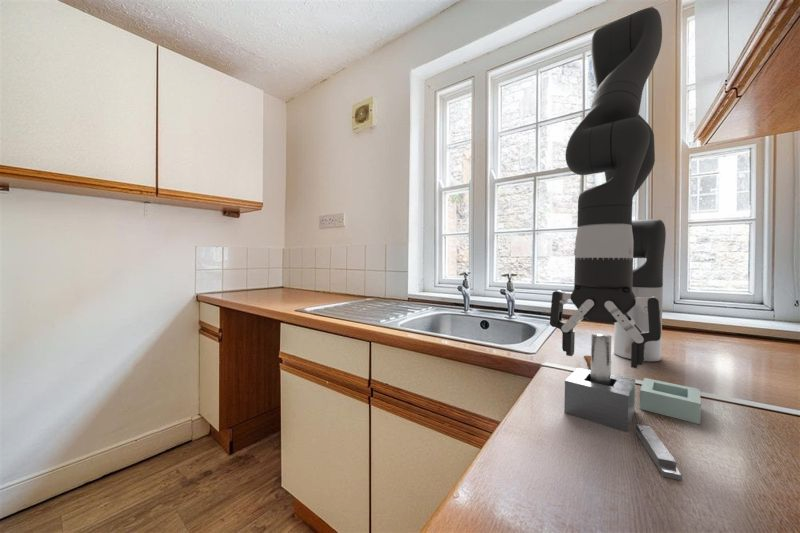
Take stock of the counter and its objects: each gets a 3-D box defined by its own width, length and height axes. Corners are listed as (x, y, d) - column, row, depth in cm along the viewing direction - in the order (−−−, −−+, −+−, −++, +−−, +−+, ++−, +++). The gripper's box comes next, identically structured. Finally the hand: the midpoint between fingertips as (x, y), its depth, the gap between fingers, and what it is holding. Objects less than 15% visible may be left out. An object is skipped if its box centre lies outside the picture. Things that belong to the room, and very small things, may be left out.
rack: (643, 394, 55) (644, 377, 55) (698, 407, 51) (699, 389, 50) (639, 408, 50) (640, 390, 50) (700, 424, 45) (701, 403, 45)
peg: (591, 406, 51) (593, 332, 51) (611, 411, 49) (612, 335, 49) (588, 412, 49) (589, 335, 49) (608, 417, 47) (609, 338, 47)
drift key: (635, 432, 43) (636, 424, 43) (650, 435, 43) (650, 426, 43) (663, 476, 34) (663, 465, 34) (681, 480, 34) (681, 469, 34)
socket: (577, 395, 55) (578, 367, 55) (634, 411, 49) (635, 379, 49) (564, 412, 49) (564, 380, 49) (627, 431, 43) (628, 395, 43)
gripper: (664, 256, 46) (661, 365, 47) (559, 256, 56) (558, 347, 56) (661, 255, 41) (658, 379, 41) (546, 255, 50) (544, 356, 51)
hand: (600, 360), depth 49 cm, fingers open, 8 cm apart
